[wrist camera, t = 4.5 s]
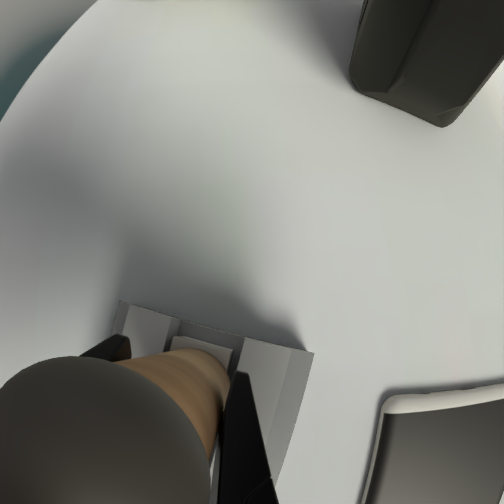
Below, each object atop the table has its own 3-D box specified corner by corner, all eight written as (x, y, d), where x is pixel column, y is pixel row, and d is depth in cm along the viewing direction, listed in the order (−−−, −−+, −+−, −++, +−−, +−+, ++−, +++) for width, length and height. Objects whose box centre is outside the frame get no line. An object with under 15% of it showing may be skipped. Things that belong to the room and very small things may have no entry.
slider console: (234, 572, 12) (232, 607, 9) (93, 528, 13) (69, 554, 9) (307, 350, 17) (323, 356, 13) (133, 304, 17) (103, 295, 13)
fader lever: (227, 421, 14) (168, 642, 1) (156, 400, 14) (-49, 519, 1) (245, 352, 15) (229, 453, 2) (173, 332, 15) (-61, 308, 2)
